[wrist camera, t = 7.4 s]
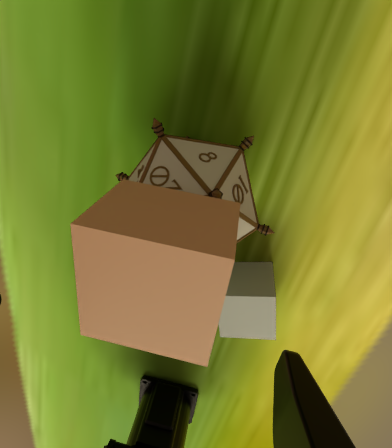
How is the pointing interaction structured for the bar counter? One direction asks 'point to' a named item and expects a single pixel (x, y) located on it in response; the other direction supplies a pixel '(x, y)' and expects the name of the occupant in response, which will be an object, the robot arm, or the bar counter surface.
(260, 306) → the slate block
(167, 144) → the game die
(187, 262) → the terracotta block
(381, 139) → the bar counter surface
